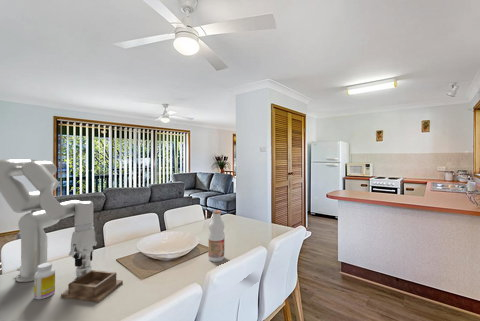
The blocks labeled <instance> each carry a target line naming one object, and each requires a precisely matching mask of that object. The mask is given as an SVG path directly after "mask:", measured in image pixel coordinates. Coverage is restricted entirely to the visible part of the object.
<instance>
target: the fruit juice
mask: <svg viewBox="0 0 480 321" xmlns="http://www.w3.org/2000/svg"><path fill="white" fill-rule="evenodd" d="M221 214H222V211H221V210H219V209H218V210H217V209H216V210H215V209H214V210H212V219H211V220H210V222H209V223H208V229H209V232H208V242H207V244H208V249H207V251H208V252H207V253H208V254H207V255H208V260H209V261H210V262H214V263H215V262H216V263H217V262H222V261H224V259H225V235H226V234H225V231H224V230H225V223H224V221H223V220H222V217H221Z"/></svg>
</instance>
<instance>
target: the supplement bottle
mask: <svg viewBox="0 0 480 321" xmlns="http://www.w3.org/2000/svg"><path fill="white" fill-rule="evenodd" d="M52 267H53V263H52V262H47V263H43V264H41V265H39V266H38V268H37V270H38V272H37V273H36V274H35V275H34V281H33V282H34V283H33V284H34V285H33V287H34V288H33V291H34V292H33V298H34V299H36V300H43V299H47V298H49V297H50V296H53V294H55V292H56V270H55V268H54V267H53V268H52Z"/></svg>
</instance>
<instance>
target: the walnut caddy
mask: <svg viewBox="0 0 480 321" xmlns="http://www.w3.org/2000/svg"><path fill="white" fill-rule="evenodd" d="M123 282H124V281H123V280H121V279H117V272H113V271H105V270H94V269H92V270H91V271H90V272H88V273H86V274H84V275H83V276H81V277H79V278H78V277H77V278H76V279H74V280H73V281H71V282H69V283H68V288H67V290H66V291H64V292H62V293H61V294H60V298H65V299H72V300H79V301H88V302H95V303H100V302H101V301H102V300H103V299H105V298H106V297H107V296H109V295H110V294H111V293H112V292H114V291H115V290H116V289H118V287H120V286H121V285H122V284H123Z"/></svg>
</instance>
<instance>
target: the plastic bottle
mask: <svg viewBox="0 0 480 321" xmlns="http://www.w3.org/2000/svg"><path fill="white" fill-rule="evenodd" d="M91 247H92V244H91V243H87V244H86V245H85V246H84V248H83V251H82V252H81V253H82V254H81V258H82V266H81V267H76V269H75V276H76V277H77V279H78V278H79V277H81V276H83V275H84V274H86V273H88V272H90V271H91V270H93V269H92V265H91V261H90V254H91ZM78 254H79V253H77V255H78Z"/></svg>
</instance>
